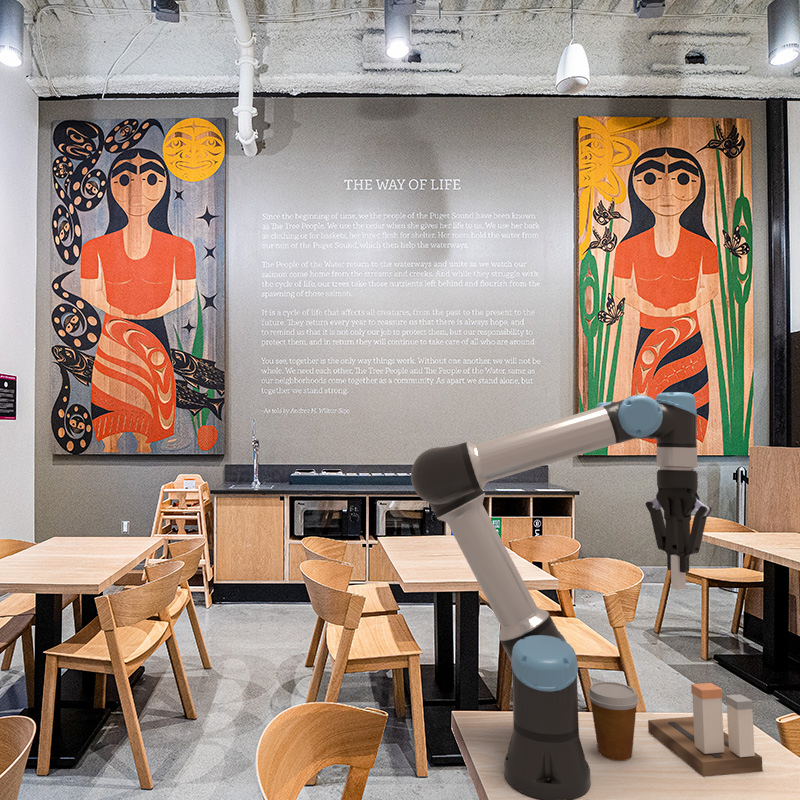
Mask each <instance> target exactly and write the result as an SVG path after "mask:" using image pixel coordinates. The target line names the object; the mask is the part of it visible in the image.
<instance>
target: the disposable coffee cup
mask: <svg viewBox="0 0 800 800" xmlns="http://www.w3.org/2000/svg"><path fill="white" fill-rule="evenodd" d="M587 696H588V698H589V701H590V707H591V712H592V717H593V718H592V720H593V724H594V725H593V726H594V732H595V733H594V734H595V739H596V744H597V752H598V753H599V755H600V754H601V755H600V756H602V757H604V758H605V759H607V760H612V761H617V762H618V761H619V762H620V761H621V762H622V761H628V760H630V759H632V757H633V748H634V737H635V736H634V735H635V725H636V713H637V706H638V704H639V700H640V699H639V697H638V695H637V692H636V690H635V689H634V688H633V687H631V686H629V685H628V684H624V683H620V682H616V681H615V682H613V681H599V682H598V681H597V682H594V683H592V684H591V685H590V686H589V691H588V692H587Z"/></svg>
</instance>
